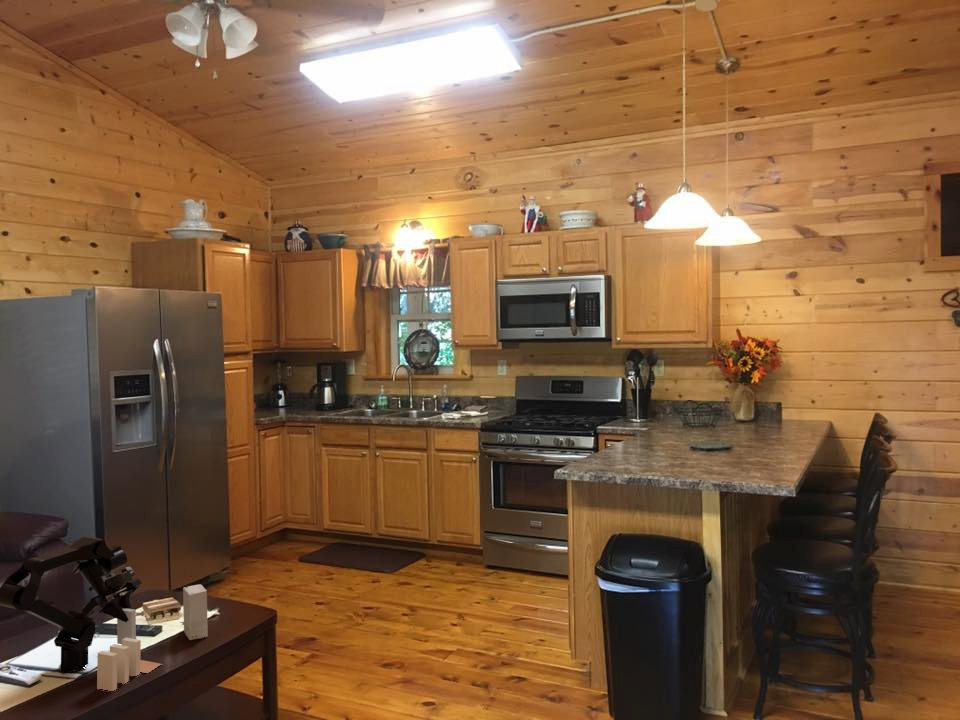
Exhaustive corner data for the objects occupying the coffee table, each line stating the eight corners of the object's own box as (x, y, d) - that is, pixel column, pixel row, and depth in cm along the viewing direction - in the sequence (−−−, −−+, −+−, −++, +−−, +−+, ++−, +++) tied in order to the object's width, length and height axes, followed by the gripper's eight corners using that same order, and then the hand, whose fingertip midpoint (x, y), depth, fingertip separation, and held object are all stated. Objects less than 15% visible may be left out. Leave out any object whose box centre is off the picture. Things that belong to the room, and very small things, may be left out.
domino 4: (124, 684, 208) (124, 649, 208) (109, 681, 210) (109, 646, 209) (128, 681, 210) (129, 646, 209) (113, 678, 211) (114, 643, 210)
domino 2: (132, 645, 218) (131, 611, 217) (117, 643, 219) (117, 609, 219) (135, 643, 219) (135, 609, 219) (121, 641, 221) (121, 607, 220)
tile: (121, 669, 217) (121, 668, 217) (136, 660, 222) (136, 659, 222) (147, 674, 214) (147, 673, 214) (162, 665, 220) (162, 663, 220)
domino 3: (136, 677, 213) (136, 642, 212) (121, 674, 214) (121, 639, 213) (140, 674, 214) (140, 640, 213) (125, 671, 215) (125, 637, 215)
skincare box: (208, 637, 240) (208, 591, 239) (188, 641, 236) (188, 594, 235) (201, 627, 247) (202, 582, 246) (182, 631, 243) (182, 586, 242)
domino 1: (112, 692, 204) (112, 656, 203) (97, 689, 205) (97, 653, 205) (116, 689, 205) (117, 653, 205) (101, 686, 207) (101, 650, 206)
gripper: (90, 570, 210) (123, 615, 208) (137, 551, 228) (168, 592, 226) (66, 594, 213) (99, 639, 210) (115, 573, 231) (145, 614, 228)
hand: (129, 620), depth 219 cm, fingers closed on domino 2, 2 cm apart
